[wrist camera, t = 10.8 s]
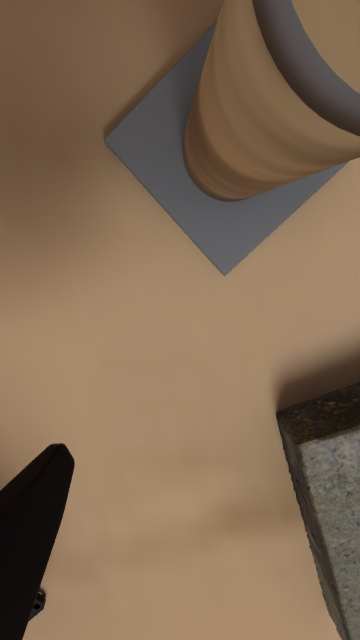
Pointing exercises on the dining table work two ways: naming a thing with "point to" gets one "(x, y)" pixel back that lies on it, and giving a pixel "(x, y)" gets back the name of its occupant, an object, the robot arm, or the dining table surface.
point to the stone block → (329, 494)
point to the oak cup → (275, 96)
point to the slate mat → (177, 187)
